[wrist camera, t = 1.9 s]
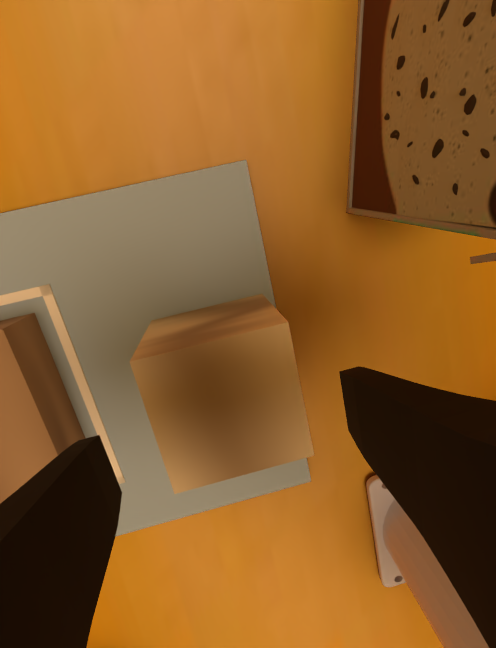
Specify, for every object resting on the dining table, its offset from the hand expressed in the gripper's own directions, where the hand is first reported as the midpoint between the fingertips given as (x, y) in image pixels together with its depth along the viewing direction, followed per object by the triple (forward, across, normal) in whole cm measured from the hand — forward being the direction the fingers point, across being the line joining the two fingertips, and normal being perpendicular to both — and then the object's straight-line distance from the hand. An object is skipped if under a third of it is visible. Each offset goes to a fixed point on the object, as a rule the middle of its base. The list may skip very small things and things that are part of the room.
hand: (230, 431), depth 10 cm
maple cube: (+6, 0, 0) cm, 6 cm away
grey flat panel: (+7, +6, 0) cm, 9 cm away
